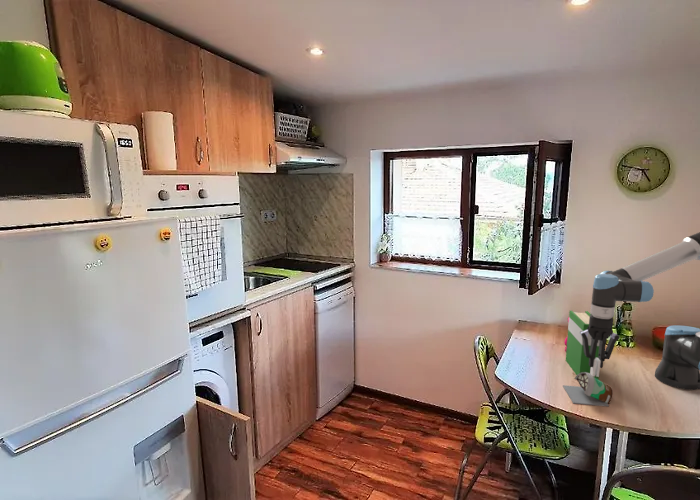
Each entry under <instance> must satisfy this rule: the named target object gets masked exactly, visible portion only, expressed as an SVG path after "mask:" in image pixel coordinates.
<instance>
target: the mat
mask: <svg viewBox="0 0 700 500" xmlns="http://www.w3.org/2000/svg"><path fill="white" fill-rule="evenodd" d="M562 387H563V389H564V391H565V393H566V394H567V395H568V397H569V399H570V400H571V403H572V404H576V405H586V406H597V407H598V406H600V407H609V406H610V404H608V403H605V402H603V401H601V400H598V399H596V398H594V397H591V396H588V395H586V394H585V393H584V392H585V391H584V390H583V388H582V387H581V386H579V385H578V386H577V385H576V386H575V385H565V384H564V385H562Z"/></svg>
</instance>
